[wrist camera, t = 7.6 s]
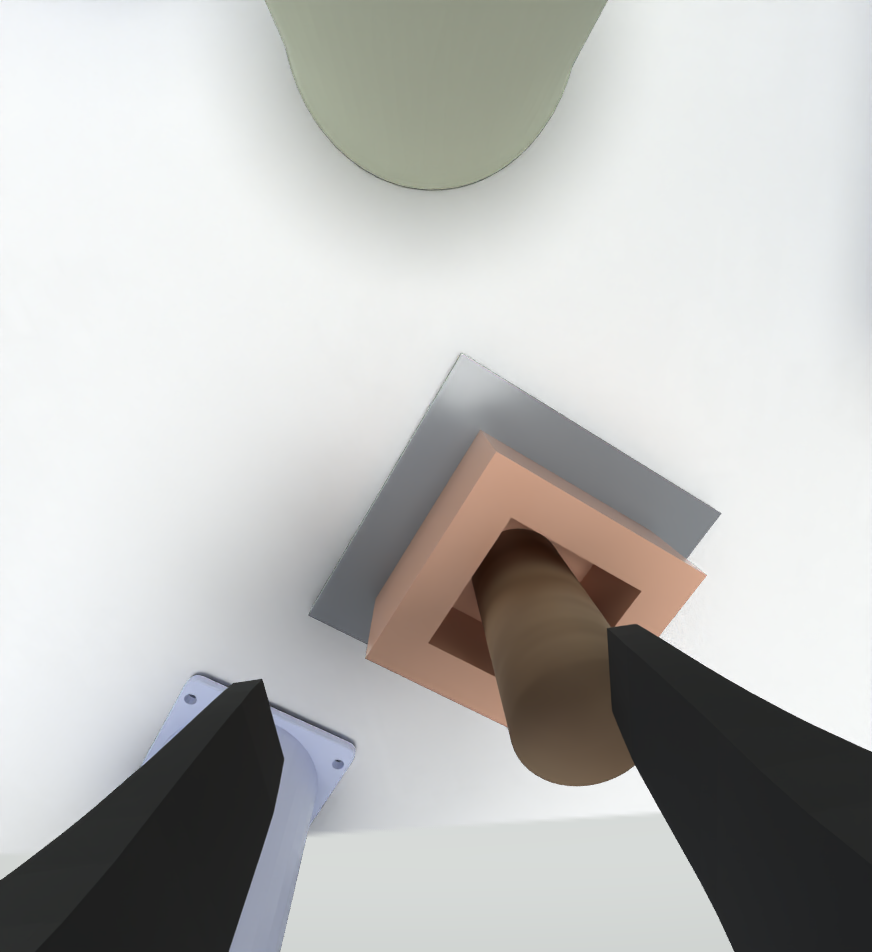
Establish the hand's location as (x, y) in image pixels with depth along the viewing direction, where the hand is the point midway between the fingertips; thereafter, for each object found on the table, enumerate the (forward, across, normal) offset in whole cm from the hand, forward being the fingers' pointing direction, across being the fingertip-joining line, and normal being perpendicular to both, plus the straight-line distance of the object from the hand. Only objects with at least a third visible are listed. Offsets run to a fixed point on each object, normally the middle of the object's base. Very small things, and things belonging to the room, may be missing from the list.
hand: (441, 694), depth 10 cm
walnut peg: (+9, -3, +2) cm, 9 cm away
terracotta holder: (+10, -3, +2) cm, 11 cm away
